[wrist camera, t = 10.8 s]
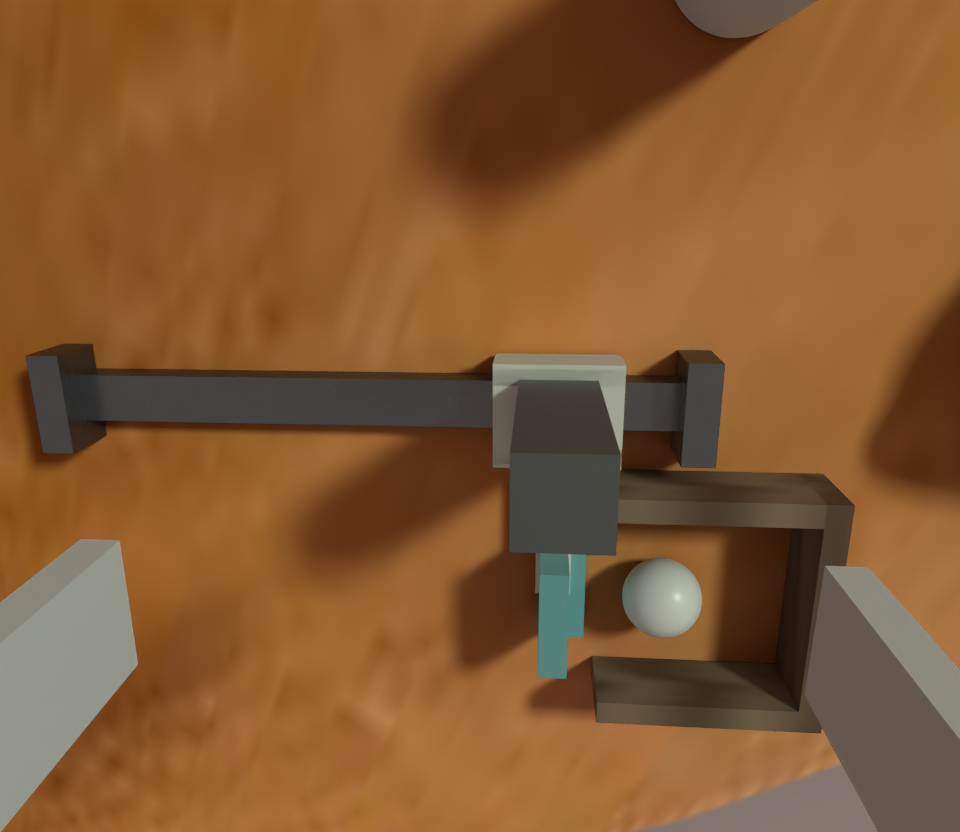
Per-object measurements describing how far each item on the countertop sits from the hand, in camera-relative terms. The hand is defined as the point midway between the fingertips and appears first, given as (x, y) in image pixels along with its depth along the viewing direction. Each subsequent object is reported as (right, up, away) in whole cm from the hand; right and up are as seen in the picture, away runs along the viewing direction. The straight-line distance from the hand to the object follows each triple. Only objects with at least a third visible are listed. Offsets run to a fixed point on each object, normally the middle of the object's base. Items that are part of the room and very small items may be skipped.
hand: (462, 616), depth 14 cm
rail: (-5, +5, +25) cm, 25 cm away
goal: (+12, -5, +26) cm, 29 cm away
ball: (+10, -6, +24) cm, 27 cm away
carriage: (+4, 0, +25) cm, 25 cm away
